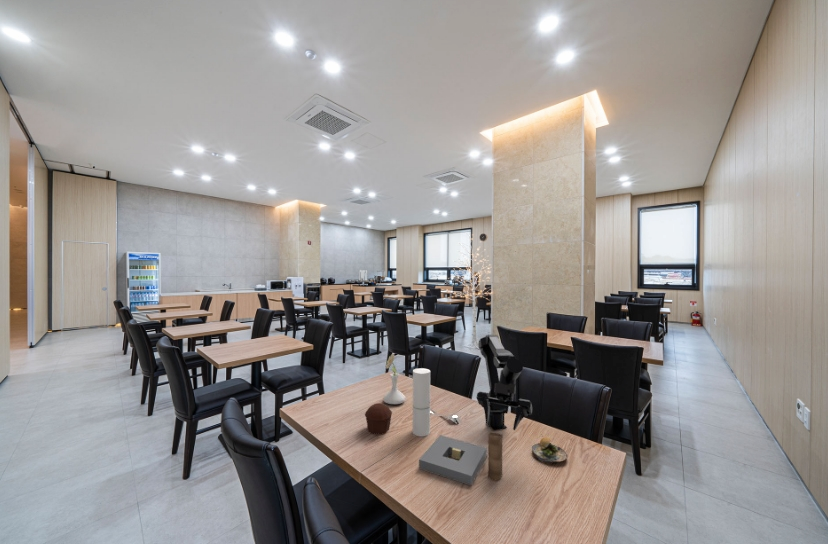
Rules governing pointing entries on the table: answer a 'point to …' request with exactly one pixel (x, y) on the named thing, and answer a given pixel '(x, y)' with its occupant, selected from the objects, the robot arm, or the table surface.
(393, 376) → the flower in vase
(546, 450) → the plate of food
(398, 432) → the table surface
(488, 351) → the robot arm
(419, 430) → the cylindrical container
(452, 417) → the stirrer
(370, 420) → the muffin
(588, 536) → the table surface
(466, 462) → the hub plate
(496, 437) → the walnut peg
